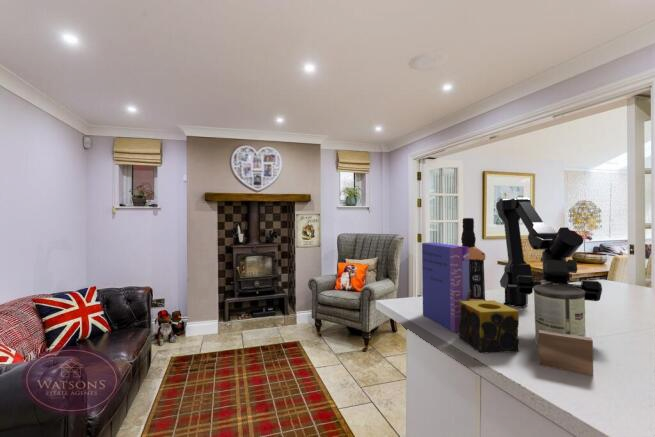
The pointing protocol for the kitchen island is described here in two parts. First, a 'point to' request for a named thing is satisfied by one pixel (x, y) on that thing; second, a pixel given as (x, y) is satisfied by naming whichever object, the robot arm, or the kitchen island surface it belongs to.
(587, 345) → the wooden block
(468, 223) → the whiskey bottle
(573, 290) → the coffee can
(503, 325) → the yellow cube with hole
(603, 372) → the kitchen island surface
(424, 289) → the cereal box
